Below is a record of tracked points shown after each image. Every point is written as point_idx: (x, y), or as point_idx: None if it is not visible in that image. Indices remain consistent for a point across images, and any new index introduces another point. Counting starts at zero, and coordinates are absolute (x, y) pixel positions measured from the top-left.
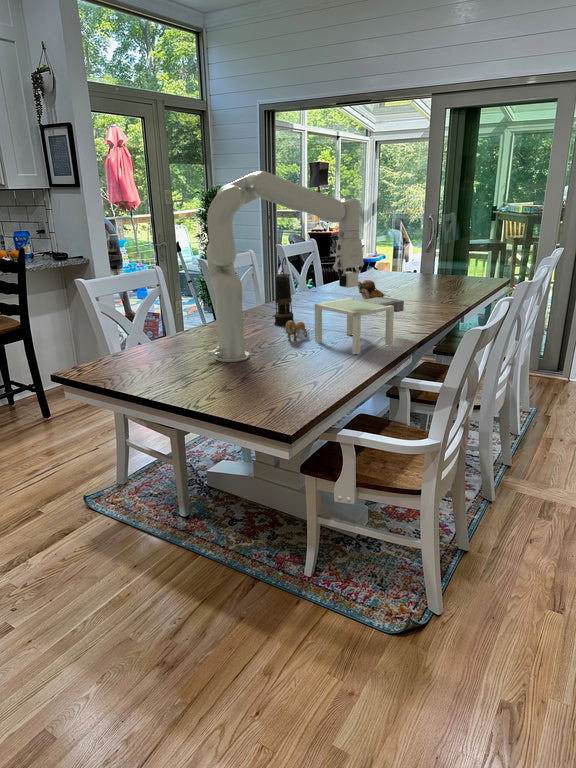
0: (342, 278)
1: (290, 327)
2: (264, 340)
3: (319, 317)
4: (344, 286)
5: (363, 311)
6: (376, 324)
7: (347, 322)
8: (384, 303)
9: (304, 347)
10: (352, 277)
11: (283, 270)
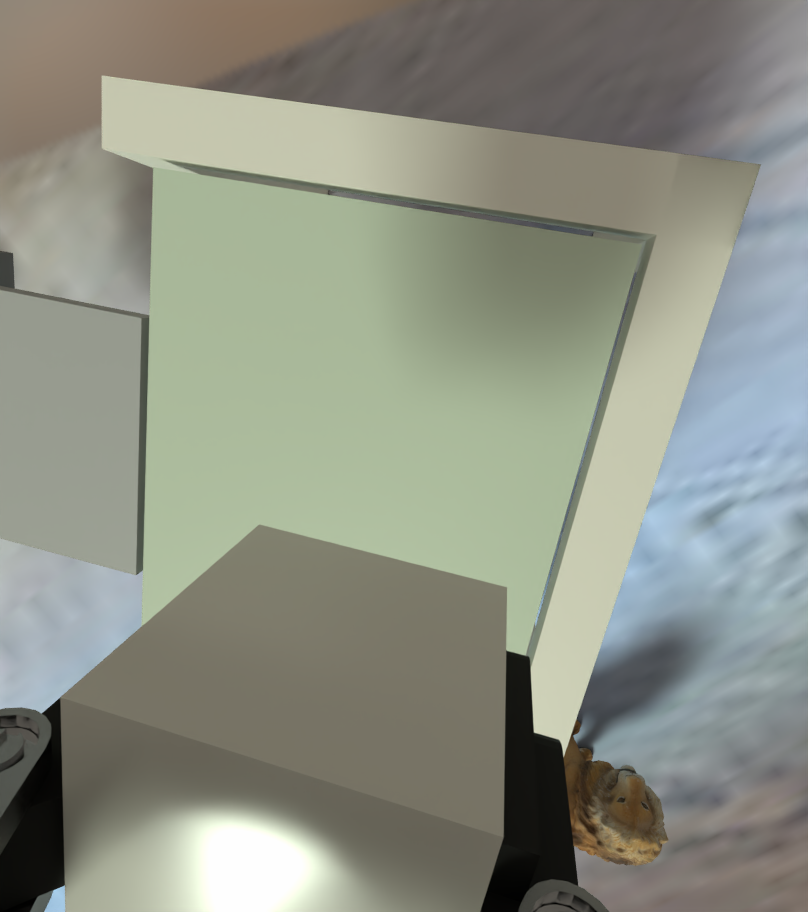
0: (564, 847)
1: (649, 803)
2: (656, 860)
3: None
4: (526, 666)
5: (588, 177)
6: (12, 549)
7: None
8: (54, 299)
9: (657, 611)
10: (342, 682)
11: None
